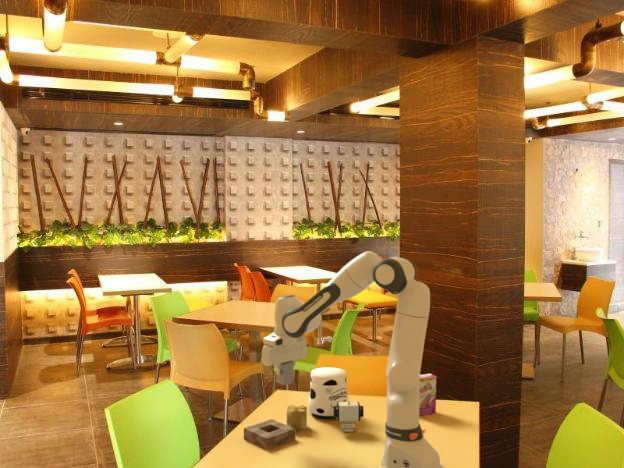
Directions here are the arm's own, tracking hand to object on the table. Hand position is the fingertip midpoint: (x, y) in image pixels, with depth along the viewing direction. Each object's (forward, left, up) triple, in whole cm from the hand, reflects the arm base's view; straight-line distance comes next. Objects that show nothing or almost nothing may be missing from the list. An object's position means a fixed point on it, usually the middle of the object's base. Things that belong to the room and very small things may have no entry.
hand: (284, 373), depth 229 cm
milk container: (+8, -32, -26) cm, 41 cm away
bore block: (+4, +4, -25) cm, 26 cm away
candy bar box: (-20, -61, -26) cm, 69 cm away
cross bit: (+5, -11, -26) cm, 28 cm away
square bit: (0, 0, -4) cm, 4 cm away
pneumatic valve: (-11, -24, -26) cm, 37 cm away
